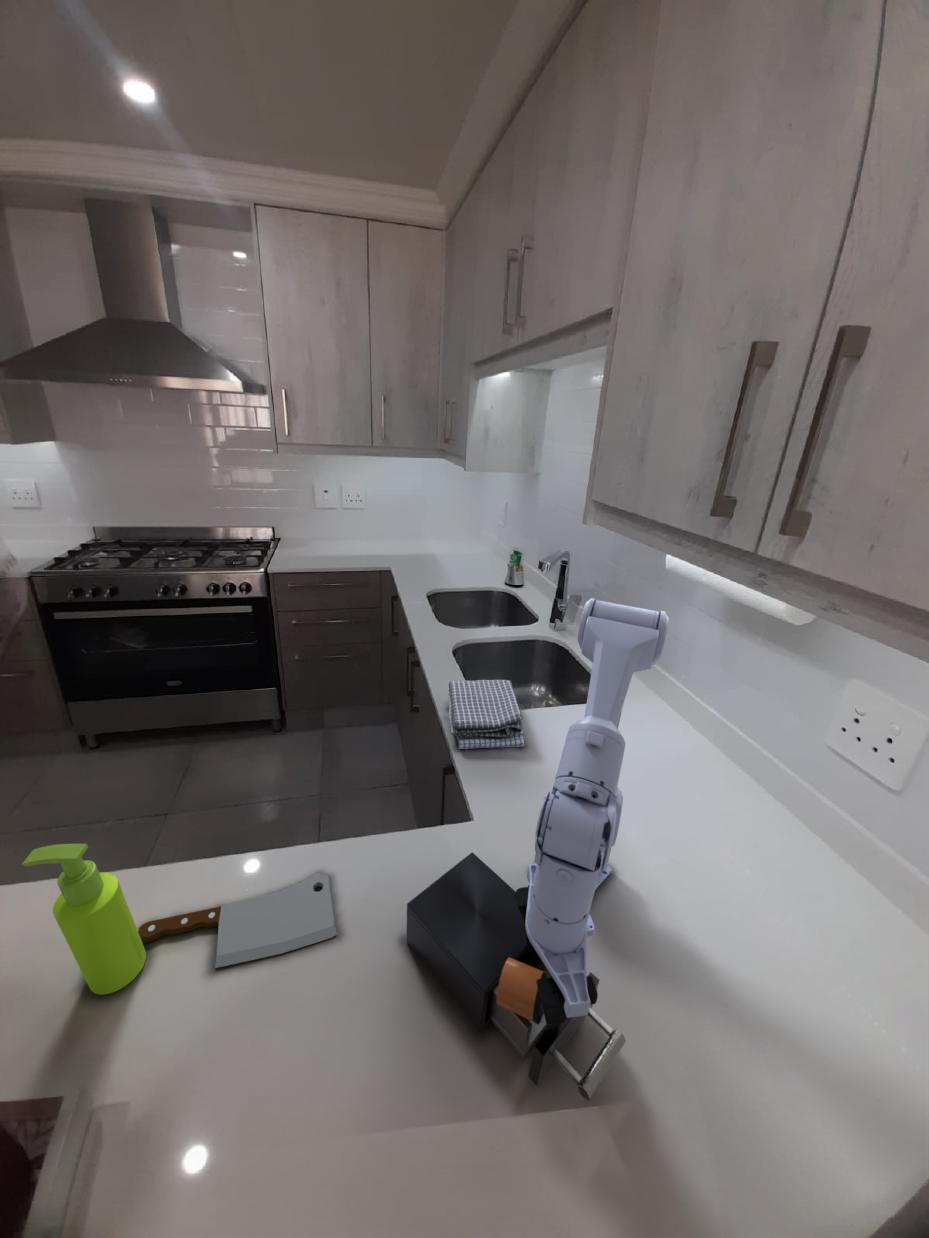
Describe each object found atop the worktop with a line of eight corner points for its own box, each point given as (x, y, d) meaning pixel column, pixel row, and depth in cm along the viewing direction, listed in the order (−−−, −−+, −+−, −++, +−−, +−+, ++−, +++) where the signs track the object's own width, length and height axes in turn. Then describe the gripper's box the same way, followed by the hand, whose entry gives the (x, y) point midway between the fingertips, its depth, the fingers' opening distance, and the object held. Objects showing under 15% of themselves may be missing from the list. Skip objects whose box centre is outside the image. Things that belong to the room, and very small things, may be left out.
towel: (508, 700, 117) (511, 672, 114) (525, 750, 101) (529, 719, 97) (445, 701, 115) (447, 673, 112) (452, 752, 99) (454, 721, 96)
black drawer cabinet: (542, 960, 63) (549, 922, 60) (479, 1032, 55) (484, 992, 52) (469, 888, 72) (472, 851, 68) (406, 941, 64) (406, 903, 61)
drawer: (627, 1045, 54) (638, 1015, 52) (574, 1132, 48) (583, 1102, 45) (511, 930, 65) (515, 901, 63) (454, 988, 59) (457, 958, 56)
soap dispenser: (96, 946, 61) (44, 830, 53) (154, 941, 62) (112, 826, 54) (67, 998, 56) (4, 878, 48) (131, 991, 57) (80, 873, 49)
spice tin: (500, 968, 51) (542, 987, 49) (512, 949, 55) (552, 964, 53) (493, 1014, 50) (535, 1034, 48) (506, 991, 54) (545, 1008, 52)
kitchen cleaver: (121, 990, 56) (144, 907, 65) (123, 994, 57) (146, 912, 65) (337, 937, 64) (332, 869, 72) (337, 941, 64) (333, 873, 72)
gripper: (632, 969, 42) (605, 1054, 48) (575, 833, 55) (559, 912, 61) (554, 978, 41) (535, 1064, 47) (514, 837, 54) (503, 918, 60)
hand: (544, 979), depth 54 cm, fingers open, 7 cm apart
